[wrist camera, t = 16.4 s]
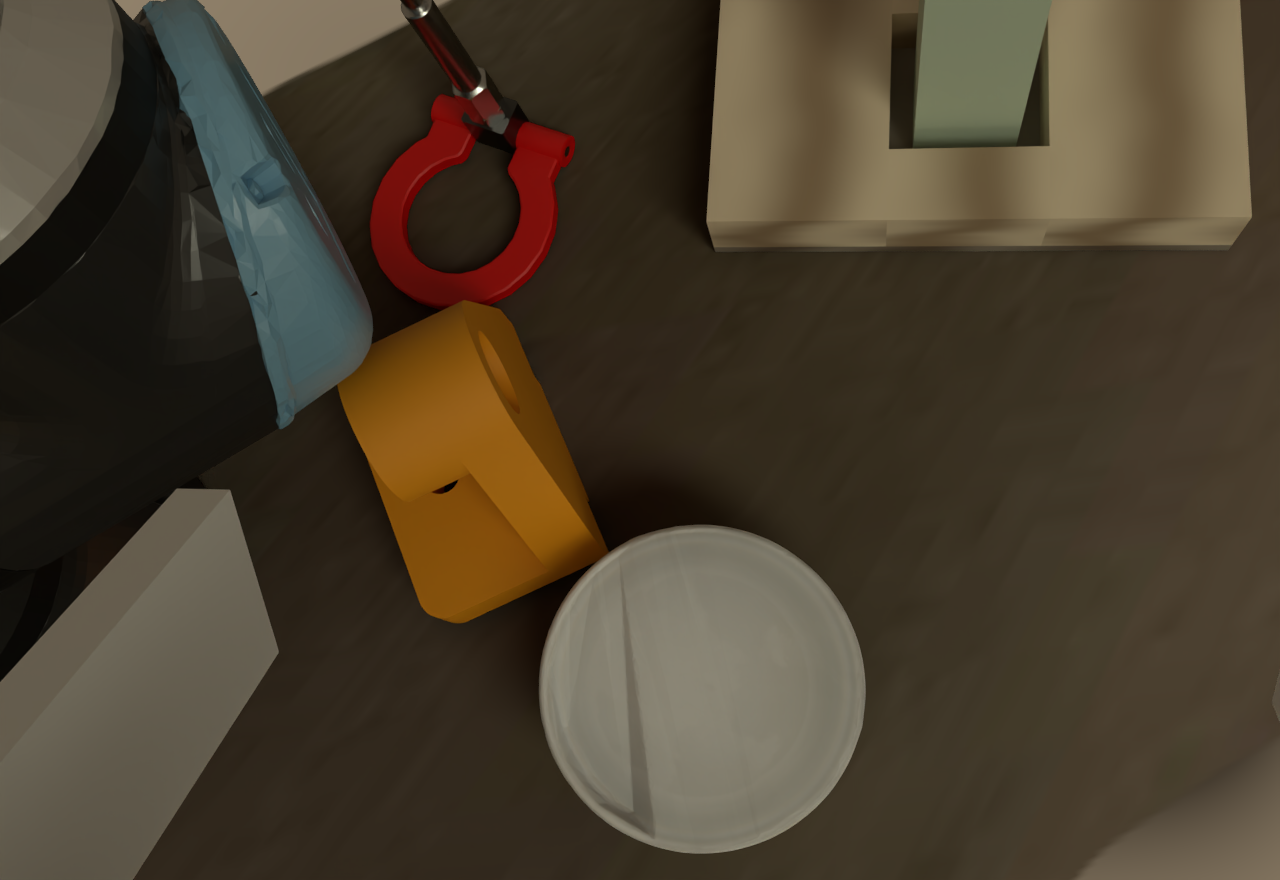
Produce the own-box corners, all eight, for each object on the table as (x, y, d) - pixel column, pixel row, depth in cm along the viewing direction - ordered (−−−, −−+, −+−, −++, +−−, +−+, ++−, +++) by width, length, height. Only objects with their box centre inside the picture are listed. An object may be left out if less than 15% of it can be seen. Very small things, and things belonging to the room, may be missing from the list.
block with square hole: (715, 252, 50) (706, 221, 47) (730, 0, 53) (723, -43, 50) (1227, 250, 46) (1251, 217, 44) (1214, -21, 49) (1236, -69, 47)
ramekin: (516, 670, 47) (475, 660, 42) (732, 488, 48) (716, 457, 43) (695, 909, 44) (673, 929, 39) (926, 712, 44) (934, 706, 39)
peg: (912, 156, 49) (927, -25, 38) (914, 69, 50) (928, -133, 39) (1013, 155, 48) (1059, -31, 37) (1013, 66, 49) (1058, -141, 38)
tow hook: (513, 341, 52) (598, 150, 53) (392, 226, 39) (508, -20, 40) (349, 278, 54) (435, 97, 55) (187, 151, 41) (302, -80, 42)
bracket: (366, 403, 52) (225, 302, 40) (517, 331, 51) (418, 208, 40) (451, 633, 48) (324, 595, 37) (614, 558, 48) (536, 496, 36)
